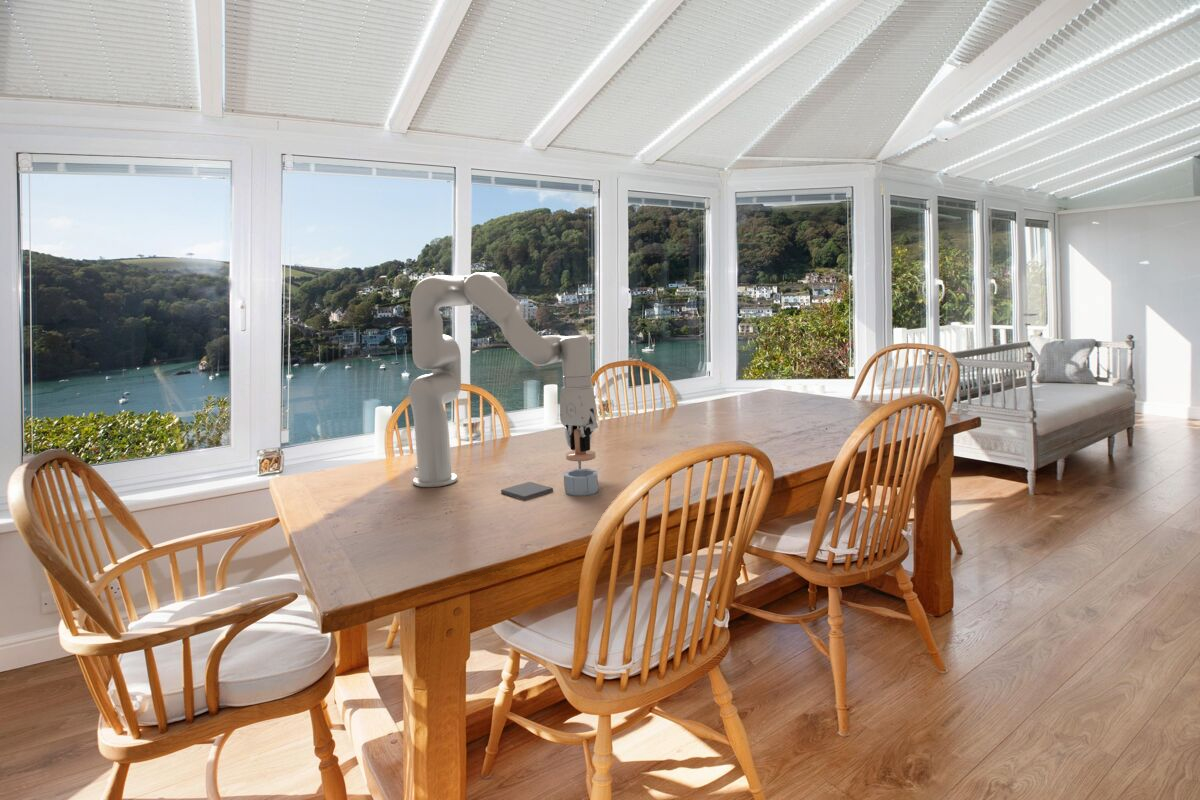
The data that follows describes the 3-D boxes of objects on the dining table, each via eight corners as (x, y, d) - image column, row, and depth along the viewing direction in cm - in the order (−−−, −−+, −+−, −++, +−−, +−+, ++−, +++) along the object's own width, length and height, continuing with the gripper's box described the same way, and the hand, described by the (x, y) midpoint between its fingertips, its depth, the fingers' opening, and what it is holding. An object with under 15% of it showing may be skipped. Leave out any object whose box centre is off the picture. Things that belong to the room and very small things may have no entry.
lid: (559, 458, 184) (558, 430, 183) (581, 452, 190) (579, 425, 188) (580, 462, 178) (579, 433, 177) (601, 456, 184) (600, 428, 183)
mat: (501, 493, 186) (501, 489, 186) (529, 485, 193) (529, 481, 193) (524, 500, 179) (524, 496, 179) (553, 491, 186) (552, 487, 186)
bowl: (558, 491, 185) (557, 474, 185) (581, 484, 192) (581, 467, 191) (581, 498, 179) (580, 479, 178) (604, 490, 185) (604, 472, 185)
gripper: (546, 382, 184) (550, 448, 187) (588, 386, 173) (591, 456, 175) (566, 379, 189) (570, 443, 192) (609, 382, 178) (612, 451, 181)
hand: (580, 449), depth 184 cm, fingers closed on lid, 3 cm apart
